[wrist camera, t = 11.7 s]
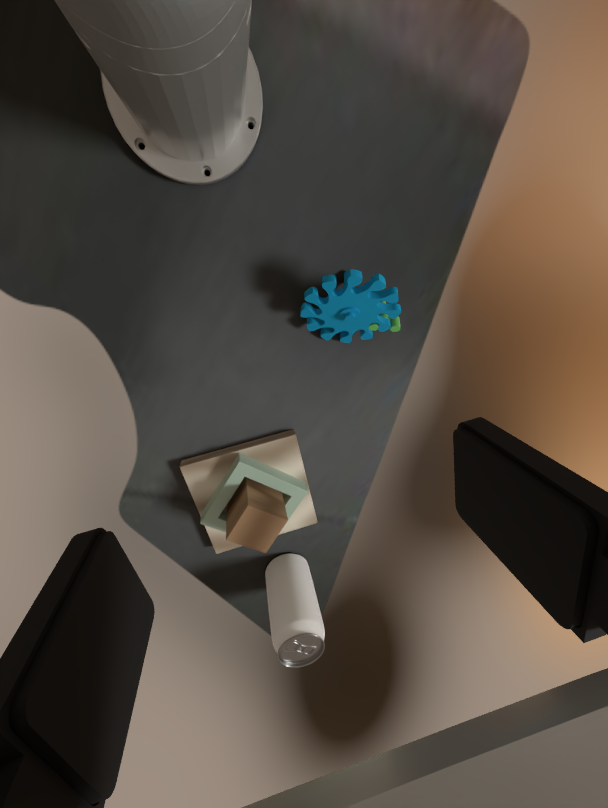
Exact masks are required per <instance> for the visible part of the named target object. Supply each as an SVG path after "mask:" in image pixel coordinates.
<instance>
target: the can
mask: <svg viewBox="0 0 608 808" xmlns="http://www.w3.org/2000/svg"><path fill="white" fill-rule="evenodd" d="M265 578H266V588H267V598H268V608H269V617H270V627H271V636H272V643H273V647H274V649H275V651H276V652H277V657H278V660H279V662H280V663H281V664H283V665H284V666H287V667H293V668H294V667H295V668H296V667H303V666H306V665H309V664H311V663H313V662H314V661H315V660H317V659H318V658H319V657H320V656H321V655H322V653H323V652H324V648H325V644H324V636H325V631H324V625H323V621H322V617H321V613H320V609H319V605H318V601H317V597H316V593H315V589H314V585H313V581H312V577H311V573H310V570H309V566H308V563H307V561H306V560H305V559H304V558H303V557H302V556H300V555H297V554H294V553H286V554H282V555H279V556H277V557H276V558H274V559H273V560H272V561H271V562H270V563H269V564H268V566H267V568H266V571H265Z"/></svg>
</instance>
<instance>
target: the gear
mask: <svg viewBox="0 0 608 808" xmlns="http://www.w3.org/2000/svg"><path fill="white" fill-rule="evenodd" d="M361 282H362V272H361V271H358V270H353V269H350V270H349V271H346V272H345V273H344V286H343V287H342V288H341V289H339V290H335V288H336V276H335V275H326V276H323V277H322V287H323V289H325V290H326V291H327V293H328V296H327V297H326V298H321V297H319V296H318V289H317V288H316V287H311V288H309V289H307V290H306V291H305V295H304V299H305V301H307V302H309V303H313V304H315V305H317V306H318V307H319V308H320V309H315V308H313V307H312V306H311V305H310V304H309V303H303V304H302V306H301V314H300V316H301V317H304V318H307V328H308V330H309V331H315V330H317V329H319V328H322V329H321V337H322V338H323V339H325V340H330V339H331V338H332V337H333V336H334V335H335V334H337V333H339V332H341V333H340V341H341V342H345V343H350V342H351V341H352V335H353V334H354V332H356V331H357V330H359V329H362V330H361V339H362V340H368V339H372V338H373V333H372V331H375V330H377V329H378V330H379V331H381V332H383V331H386V330H388V329H390V330H391V331H392V332H397V331H399V330H400V319H399V317H398V316H399V314H400V313H401V307H400V305H399V304H386V302H388V303H396V302H398V290H397V287H391V288H389V289H387V290H385V291H381V290H383V289H385V288H386V283H385V278H384V277H383V276H382V275H380V274H379V273H378V274H375V275H374V276H373V277H372V278H371V280H370V281H369V282H367V283H366V284H364V285H362V286H360V287H356V288H355V286H357V285H359V284H361ZM371 291H381V292H371ZM308 317H310V318H308ZM313 317H315V318H313ZM316 318H319V319H316ZM342 331H343V332H342Z"/></svg>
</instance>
